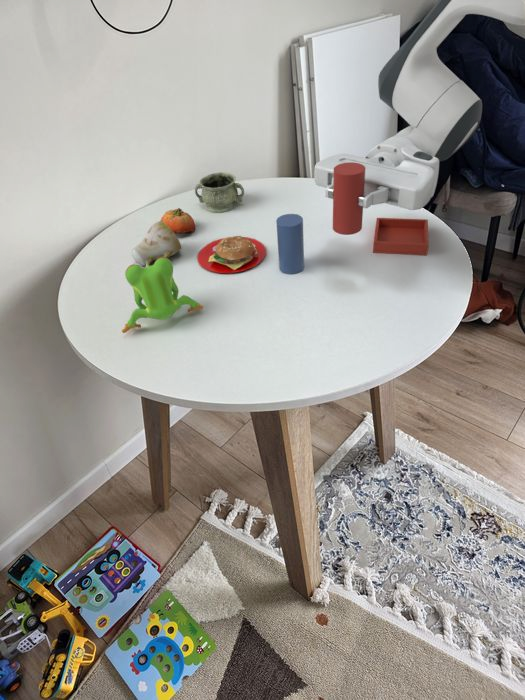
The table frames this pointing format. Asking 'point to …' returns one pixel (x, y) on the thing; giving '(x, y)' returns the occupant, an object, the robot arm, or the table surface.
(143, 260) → the mug
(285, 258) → the blue canister
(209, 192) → the vessel
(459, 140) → the robot arm
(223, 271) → the hamburger
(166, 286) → the toy
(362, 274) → the table surface
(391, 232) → the red tray
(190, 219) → the tomato
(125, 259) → the table surface
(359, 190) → the red canister
